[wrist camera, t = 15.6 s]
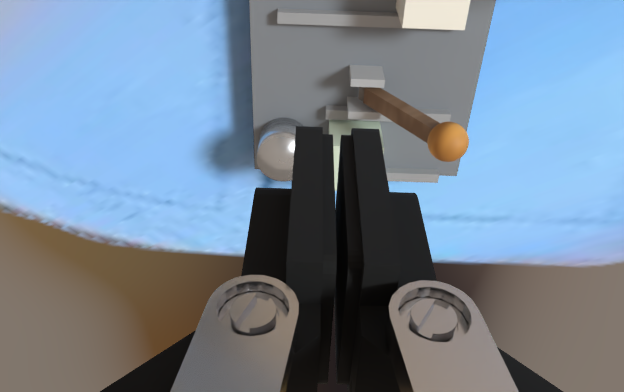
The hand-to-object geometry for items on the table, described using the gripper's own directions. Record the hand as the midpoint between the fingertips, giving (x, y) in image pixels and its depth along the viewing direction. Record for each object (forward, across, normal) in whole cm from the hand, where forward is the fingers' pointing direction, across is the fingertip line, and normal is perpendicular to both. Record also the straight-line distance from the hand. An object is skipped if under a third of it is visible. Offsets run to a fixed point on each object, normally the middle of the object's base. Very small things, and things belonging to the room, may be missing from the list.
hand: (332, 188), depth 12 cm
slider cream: (+30, -7, +4) cm, 31 cm away
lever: (+29, -4, +12) cm, 32 cm away
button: (+30, +2, +17) cm, 35 cm away
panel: (+32, -4, +10) cm, 34 cm away
